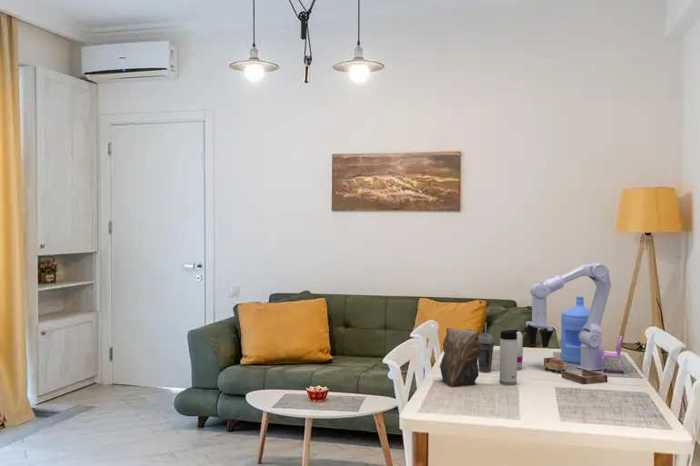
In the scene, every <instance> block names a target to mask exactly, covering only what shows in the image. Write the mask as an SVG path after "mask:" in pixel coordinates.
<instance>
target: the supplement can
mask: <svg viewBox="0 0 700 466" xmlns="http://www.w3.org/2000/svg"><path fill="white" fill-rule="evenodd" d="M523 338H524V336H523V334H522V332H521V331H518V332H517V371H521V370H522V368H523V359H524V357H523V356H524V355H523V351H524V350H523V349H524V348H523V347H524V346H523V345H524V344H523V343H524V342H523V340H524V339H523Z"/></svg>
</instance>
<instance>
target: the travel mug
mask: <svg viewBox="0 0 700 466" xmlns="http://www.w3.org/2000/svg"><path fill="white" fill-rule="evenodd" d="M517 332H519V330H518V329H506V330H501V331H500V332H499V336H500V338H499V383H500V384H502V385H504V386H505V385H506V386H513V385H516V384H518V381H517V379H518V377H517V376H518V370H517Z"/></svg>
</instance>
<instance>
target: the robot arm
mask: <svg viewBox="0 0 700 466" xmlns="http://www.w3.org/2000/svg"><path fill="white" fill-rule="evenodd" d="M581 277H588V278H589V279H591V280H592V282H593V283H594V285H595V286H596V287H595V291H594V293H593V294H594V295H593V298H592V301H591V302H592V303H591V306H590V309H589V310H590V313H589V316H588V320H587V323H586V324H585V325H584V326H583V329H582V331H581V332H580V333H579V335H578V338H579V341H580V342H581V356H580V364H579V365H576V366H575V368H578V369H580V370H582V369H586V370H590V371H600V370H601V371H603V370H602V356H603V355H604V352H605V349H604V348H603V347H601V346H600V345H601V344H602V341H603V340H602V332H603V330H602V327H601V325H602V321H603V316H604V313H605V309H606V306H607V301H608V297H609V295H610V291H611V287H612V282H611V278H610V269H609V268H608V267H607V266H606V264H604V263H602V262H594V261H588V262H586V263H584V264H581V265H580V266H577V267H575V268H574V269H572V270H570V271H568V272H567V273H564V274H562V275H561V276H560V275H558V274H556V275H555V274H552V275H550V277H549V278H547V279H546V280H542V279H541V280H540V283H534V284H532V286H531V287H530V290H529V291H530V292H529V293H530V295H531V296H532V297H531V298H532V299H531V300H532V301H531V321H530V320H529V321H525V326H526V327H524V330H525V331H526V333H527V336H528V340H529V344H530V345H533V346H534V345H536V342H537V336H538V335H537V334H538V331H539V333H540V338H541V346H542V348H545V349H546V348H548V347H549V343H550V340H551V338H552V335H553V334H554V326H553V325H551V324H549V323H547V297H549V295H550V294H552V293H554V292H556V291H558V290H560V289H562V288H564V286H565V284H566V283H568V282H571V281H574V280H576V279H577V278H581ZM603 369H604V370H607V367H606V358H604V359H603Z"/></svg>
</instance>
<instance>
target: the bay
mask: <svg viewBox="0 0 700 466" xmlns="http://www.w3.org/2000/svg"><path fill="white" fill-rule="evenodd" d="M561 378H562V379H564V380H568V381H571V382H573V383H574V382H575V383H578V384H582V385H590V384H592V385H593V384H598V383H599V384H600V383H608V375H607V374H604V373H600V372H597V371H594V370H592V371H590V370H586V369H581V375H579V374H575V373H572V372H569V371H566V370H565V371H562V370H561Z"/></svg>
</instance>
